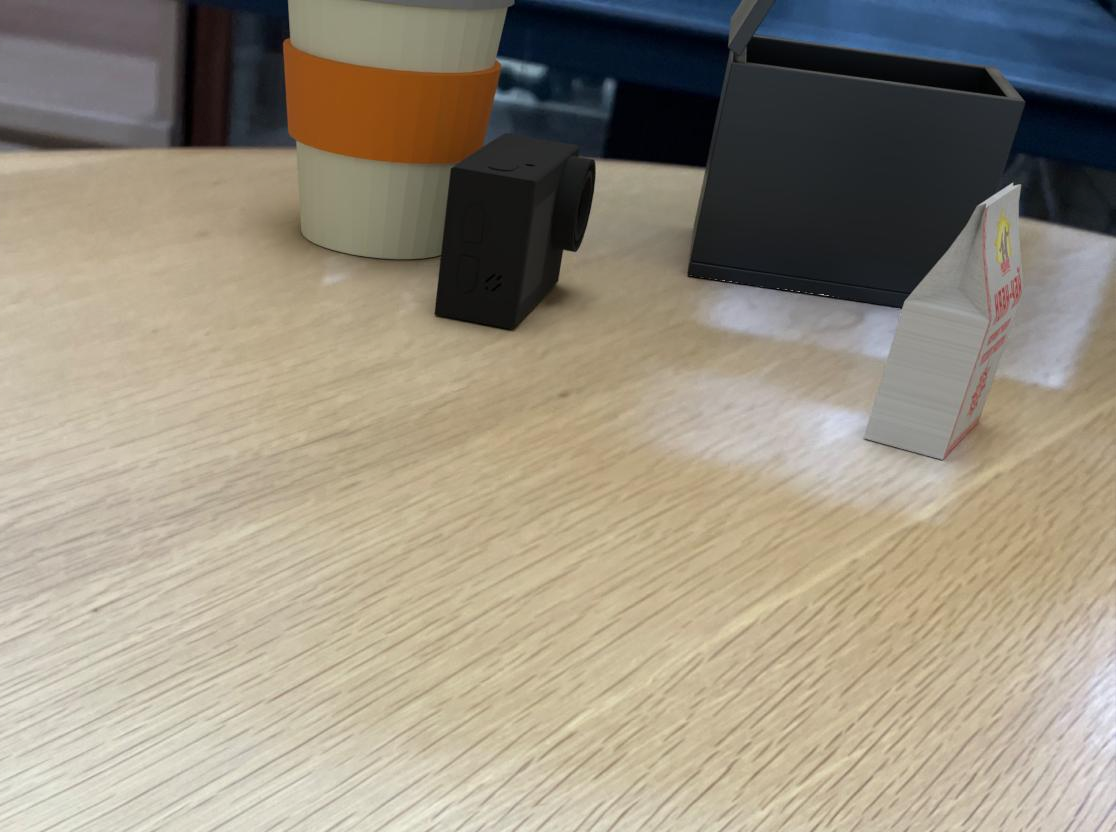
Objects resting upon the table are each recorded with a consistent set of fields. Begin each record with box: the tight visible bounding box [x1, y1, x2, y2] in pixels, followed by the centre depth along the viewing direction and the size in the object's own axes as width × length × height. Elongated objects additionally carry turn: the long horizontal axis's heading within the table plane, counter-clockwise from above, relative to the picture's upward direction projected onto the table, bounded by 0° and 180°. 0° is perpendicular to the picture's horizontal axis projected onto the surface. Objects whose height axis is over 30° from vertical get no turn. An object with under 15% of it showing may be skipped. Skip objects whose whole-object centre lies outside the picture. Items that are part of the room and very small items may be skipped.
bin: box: [686, 34, 1026, 308], centre depth 89 cm, size 16×13×11 cm
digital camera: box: [434, 133, 597, 330], centre depth 79 cm, size 10×5×7 cm, turn 162°
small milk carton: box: [863, 182, 1025, 461], centre depth 68 cm, size 4×7×10 cm, turn 149°
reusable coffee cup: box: [282, 0, 515, 260], centre depth 84 cm, size 13×13×15 cm
